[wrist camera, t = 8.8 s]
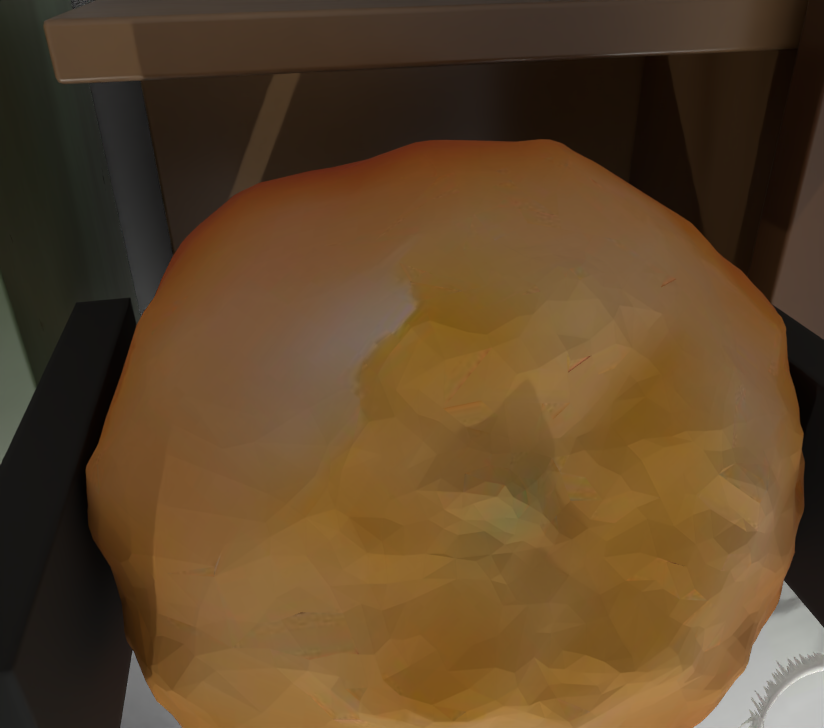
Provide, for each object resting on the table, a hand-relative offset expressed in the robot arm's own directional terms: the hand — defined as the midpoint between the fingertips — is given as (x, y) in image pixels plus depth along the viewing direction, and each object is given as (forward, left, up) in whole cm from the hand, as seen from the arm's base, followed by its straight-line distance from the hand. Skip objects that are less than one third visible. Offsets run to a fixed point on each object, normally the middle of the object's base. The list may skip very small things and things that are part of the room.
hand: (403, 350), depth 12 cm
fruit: (0, 0, 0) cm, 0 cm away
